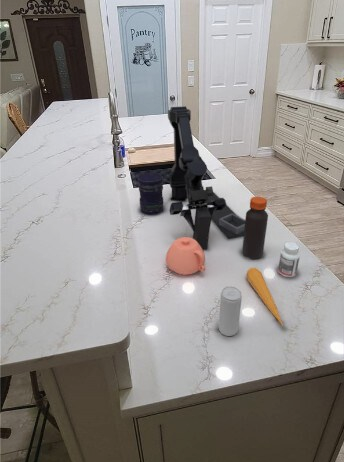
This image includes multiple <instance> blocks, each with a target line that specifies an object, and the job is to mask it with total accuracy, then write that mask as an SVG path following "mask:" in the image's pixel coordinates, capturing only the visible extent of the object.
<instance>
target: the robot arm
mask: <svg viewBox="0 0 344 462" xmlns="http://www.w3.org/2000/svg"><path fill="white" fill-rule="evenodd" d="M167 119H168V120H169V124H170V126H171V127H172V129H173V152H174V153H173V154H174V155H173V156H174V164H173V166H172V168H171V169H170V175H169V177H168V183H169V186H170V188H171V197H170V200H171V201H175V202H171V203H170V206H169V214H170V216H174V215H175V216H176V215H179V216H180V217H183V218H184V219H185V221H186V222H187V223H188V225H189V227H190V229H191V231H192V232H195V227H194V220H193V216H192V210H196V208H208V210H209V212H210V215H211V220H212V215H213V213H214V212H215V211H216V210H222V209H223V208H224V207H225V206H226V205H227V202H226V201H227V200H226V199H225V198H224V197H219V198H215V199H213V200H212V202H206V203H205V201H207V199H208V196H213V192H214V189H213V186H205V188H204V186H203V181H202V180H203V179H204V177H205V175H206V173H207V170H208V165H207V164H206V162H205V161H204V160H203V158H202V156H200V152H199V149H198V148H196V147H195V144H194V140H193V133H192V128H191V120H192V111H191V109H189V108H187V106H186V105H183V106H170V109H168V110H167ZM185 201H188V202H187V203H188V204H184V203H183V202H185ZM211 224H212V223H211ZM211 224H210V226H212V225H211Z"/></svg>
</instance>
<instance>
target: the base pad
mask: <svg viewBox="0 0 344 462" xmlns="http://www.w3.org/2000/svg"><path fill="white" fill-rule="evenodd" d="M215 198H220V197H219V196H218V195H217V194H216V193H215V192H214V191H213V196H208V199H207V201H205V203H206V202H212V200H213V199H215ZM211 221H212V222H213V223H214V224H215V225H216V226H217V228H219V230H220V231H221V232H222V233H223V234H224V235H225V237H226V238H227V239H228V240H231V239H236V238H242V237H244V229H245V219H244V218H242V217H241V216H238V215H237V214H236V213H235V212H234V211H233V210H232V209H231V207H229V206H228V204H226V206H225V207H224V208H223V209H222V210H216V211H215V212H214V213H213V215H212V219H211Z"/></svg>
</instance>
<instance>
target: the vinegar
mask: <svg viewBox="0 0 344 462" xmlns="http://www.w3.org/2000/svg"><path fill="white" fill-rule="evenodd" d="M267 204H268V200H267V198H265V197H263V196H253V197H251V198H250V201H249V209H248V210H247V211H246V212H245V219H244V220H245V229H244V236H243V239H242V251H241V253H242V255H243V256H244V257H246V258H248V259H251V260H257V259H260V258H262V257H263V255H264V250H265V242H266V235H267V227H268V221H269V220H268V219H269V213H268V212H267V211H266V210H267Z"/></svg>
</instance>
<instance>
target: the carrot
mask: <svg viewBox="0 0 344 462" xmlns="http://www.w3.org/2000/svg"><path fill="white" fill-rule="evenodd" d="M245 275H246V279H247V281H248V282H249V283H250V285H251V286H252V288H253V289H254V290H255V292H256V293H257V294H258V296H259V297H260V299H261V300H262V302H263V303H264V304H265V306H266V307H267V308H268V310H269V311H270V312H271V314H272V315H273V316H274V317H275V318H276V320H277V321H278V322H279V324H280V325H281V326H282V327H284V324H283V322H282V319H281V316H280V314H279V311H278V308H277V306H276V304H275V303H276V302H275V301H274V299H273V297H272V294H271V292H270V289H269V287H268V285H267V282H266V280H265V277H264V275H263V273H262V272H261V271H260V270H259V268H257V267H251V268H250V267H249V269H248V270H247V271H246V274H245Z"/></svg>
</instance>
